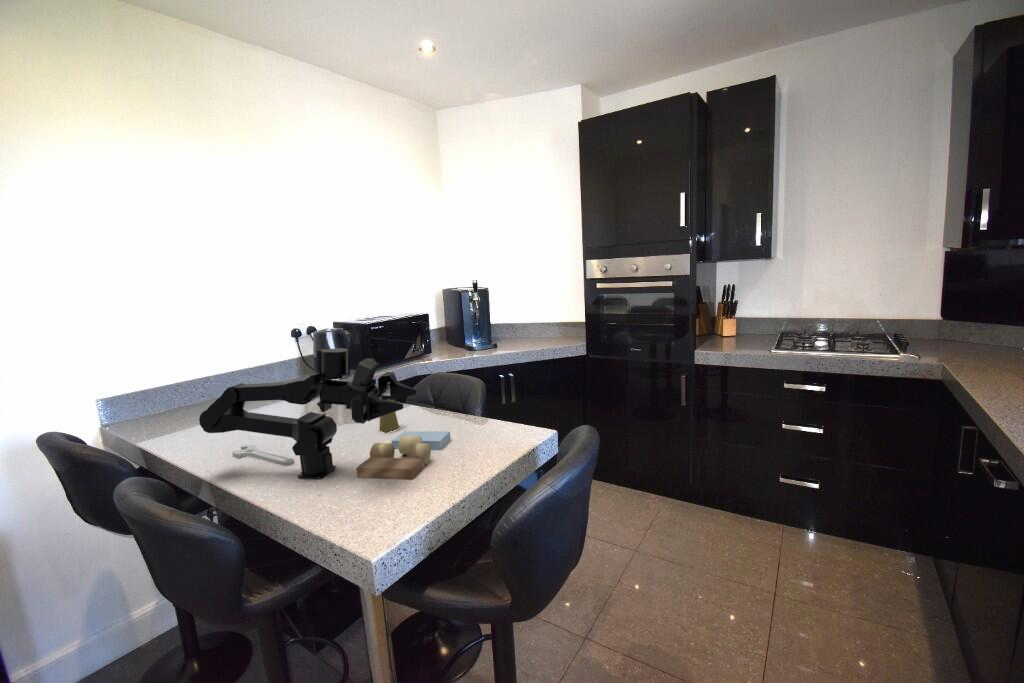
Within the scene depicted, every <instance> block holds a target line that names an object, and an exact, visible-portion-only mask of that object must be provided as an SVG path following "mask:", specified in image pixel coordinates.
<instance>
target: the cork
mask: <svg viewBox="0 0 1024 683" xmlns="http://www.w3.org/2000/svg"><path fill="white" fill-rule="evenodd" d="M380 399H381V398H380ZM388 400H389V401H393V402H396V399H395V400H390V399H388ZM398 428H399V429H400V426H399V421H398V417H397V413H396V411H395V412H392V413H389V414H386V415H383V416H381V417H379V431H382V432H390V431H394V430H397V429H398ZM397 431H398V430H397Z"/></svg>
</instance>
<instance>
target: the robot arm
mask: <svg viewBox="0 0 1024 683" xmlns="http://www.w3.org/2000/svg"><path fill="white" fill-rule="evenodd" d="M348 350H349V349H347V348H341V347H337V348H326V349H324V348H323V349H318V350H316V357H317V372H316V373H313V374H311V375H308V376H304V377H301V378H297V379H293V380H290V381H285V382H284V381H283V382H264V383H263V382H262V383H261V382H260V383H238V384H235V385H232V386H228V387H227V388H226V389H225V390H224V391H223V393H222V394H221V395H220V396H219V397H218V398H216V399H215V401H214V402H212V403H211V404H210V405H209V406H208V407H207V408H206V410H203V411H202V412H201V413H200V415H199V419H198V421H199V426H200V427H201V428H202V431H204V432H205V433H208V434H219V433H220V434H221V433H223V434H224V433H227V432H228V433H229V432H234V431H243V432H248V433H249V432H250V433H257V434H264V435H271V436H278V437H285V438H291V439H293V440H294V441H295V442H294V444H293V445H292V448H291V449H292V451H293V453H294V455H295V456H299V461H300V468H301V473H299V474H298V475H297V478H298V479H322V478H324V477H325V476H327V475H328V474H330V473H331V472H333V471H334V470H335V469H337V465H334V463H333V454H332V452H331V449H330V446H329V444H331V443H332V442H333V438H334V436H335V435H336V434H337V431H338V426H337V423H336V421H335V420H334V419H333V418H332V417H331V416H330V415H329V416H327V413H325V412H327V411H328V410H330V409H332V407H333V405H338V406H345V408H346V410H351V420H353V422H354V423H355V424H360V425H361V424H363V425H365V423H366V422H370V421H372V420H375V419H378V418H380V417H381V416H383V415H386V414H389V413H392V412H395V413H396V412H398V411H401V410H403V409H404V403H401V402H397V401H396V400H399V399H403V398H407V397H411V396H415V395H417V394H418V390H417V389H416V388H413V387H410V386H408V385H406V384H403V383H401V382H399V380H397V376H396V374H395V372H394V371H393V372H392V371H386V372H384V374H382V375H381V376H379V377H378V378H377V379H376V378H374V377H375V374H376V372H377V369H378V368H379V363H378V362H377V361H376V360H375V358H369V357H368V358H365V359H363V360H361V361H359V362H358V363H357V367H356V369H355V372H354V375H353V378H352V380H351V381H348V380H341V379H343V378H344V376H345V375H348V372H349V370H348V368H349V367H348V366H349V364H348V360H349V357H348V355H349V354H348ZM380 398H381V399H380ZM317 399H319V401H318V402H317V403H316V406H318V408H319V410H320V411H321V413H317V412H314V411H309V412H308V413H305V414H304V415H302V416H300V417H298V418H297V417H296V418H295V417H294V418H293V417H287V416H279V415H272V414H271V415H270V414H266V413H258V412H249V411H246V410H245V409H244V408H245V406H246V402H259V401H260V402H261V401H262V402H263V401H264V402H265V401H266V402H267V401H284V402H287V403H289V404H293V405H294V404H295V405H301V406H303V405H307V404H309V403H311V402H313V401H315V400H317ZM388 399H390V400H395V402H393V401H389V400H388Z"/></svg>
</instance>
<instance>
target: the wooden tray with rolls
mask: <svg viewBox="0 0 1024 683" xmlns="http://www.w3.org/2000/svg"><path fill="white" fill-rule="evenodd" d="M431 452H432V450H431V449H430V445H429V444H427V443H411V444H410V445H409V447H408V450H407V454H406V457H404V458H403V457H395V455H396V454H395V449H394V446H393V444H392V442H374V443H373V444H372V445H371V448H370V450H369V457H368V458H367V459H366V460H364V461H363V462H361V464H359V465H357V466H356V476H357V478H359V479H360V477H361V479H387V478H390V480H391V479H394V480H395V479H396V480H414V478H416V477H417V475H418V474H419V473H420V472H421V471H422V470H423V469H425V465H427V464H429V463H430V460H431V456H432V455H431V454H432V453H431Z"/></svg>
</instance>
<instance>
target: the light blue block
mask: <svg viewBox="0 0 1024 683" xmlns="http://www.w3.org/2000/svg"><path fill="white" fill-rule="evenodd" d="M450 439H451V431H449V430H448V431H447V430H446V431H445V430H443V431H441V430H440V431H439V430H438V431H437V430H436V431H435V430H433V431H432V430H431V431H428V430H427V431H425V430H424V431H420V430H418V431H415V430H413V431H412V430H409V431H407V430H406V431H405V430H404V431H403V432H401V433H400V434H399V435H397V436H396V437H394V438H393V439H392V440H391V443H392V444H393V446H394V449H399V450H398V452H399V454H400V455H407V450H408V447H409V445H410V444H411V443H427V444H429V445H430V449H431V451H441V450H442V449H443V448H445V446H446V445H447V444H448V443H449V442H450V441H451V440H450ZM449 440H450V441H449Z"/></svg>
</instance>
